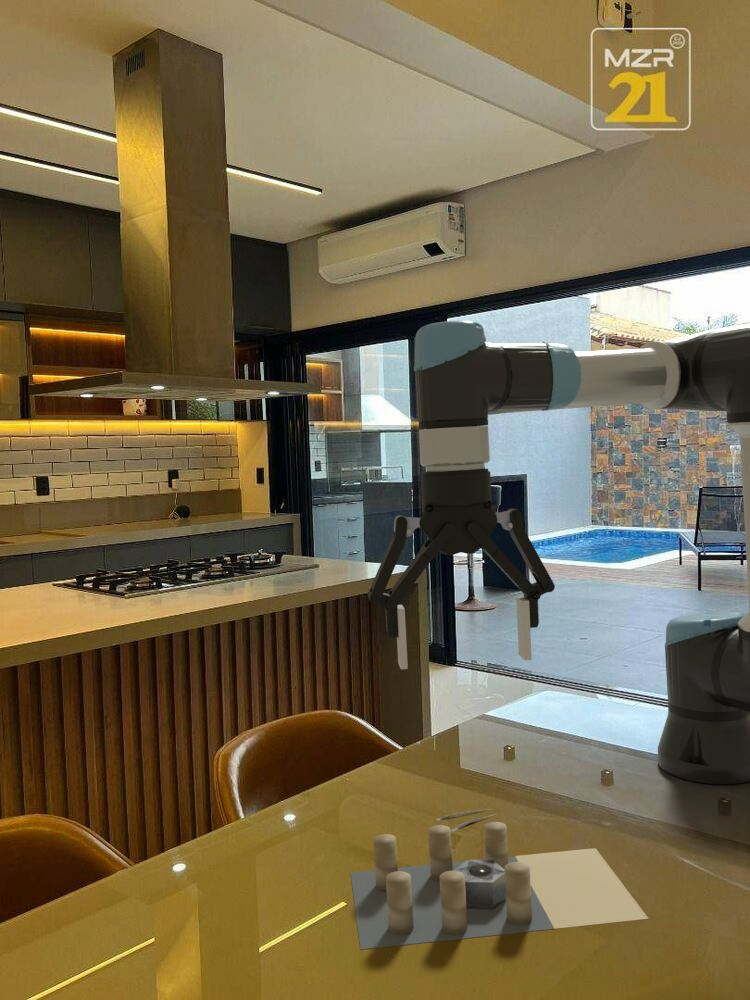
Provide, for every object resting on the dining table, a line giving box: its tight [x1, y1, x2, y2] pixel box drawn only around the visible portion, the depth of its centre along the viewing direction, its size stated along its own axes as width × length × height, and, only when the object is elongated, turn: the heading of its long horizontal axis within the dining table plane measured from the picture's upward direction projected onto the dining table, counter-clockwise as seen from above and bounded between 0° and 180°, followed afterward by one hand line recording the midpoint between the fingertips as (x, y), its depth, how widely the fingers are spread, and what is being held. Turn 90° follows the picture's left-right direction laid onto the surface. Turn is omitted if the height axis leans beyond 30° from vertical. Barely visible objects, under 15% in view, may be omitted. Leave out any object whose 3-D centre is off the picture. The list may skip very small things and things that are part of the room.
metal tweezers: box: [433, 808, 498, 833], centre depth 118 cm, size 17×5×2 cm, turn 116°
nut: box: [454, 859, 506, 910], centre depth 96 cm, size 5×6×3 cm
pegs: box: [372, 821, 532, 935], centre depth 95 cm, size 16×14×6 cm
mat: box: [349, 847, 649, 951], centre depth 96 cm, size 30×16×1 cm, turn 95°
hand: (464, 662), depth 95 cm, fingers open, 13 cm apart
